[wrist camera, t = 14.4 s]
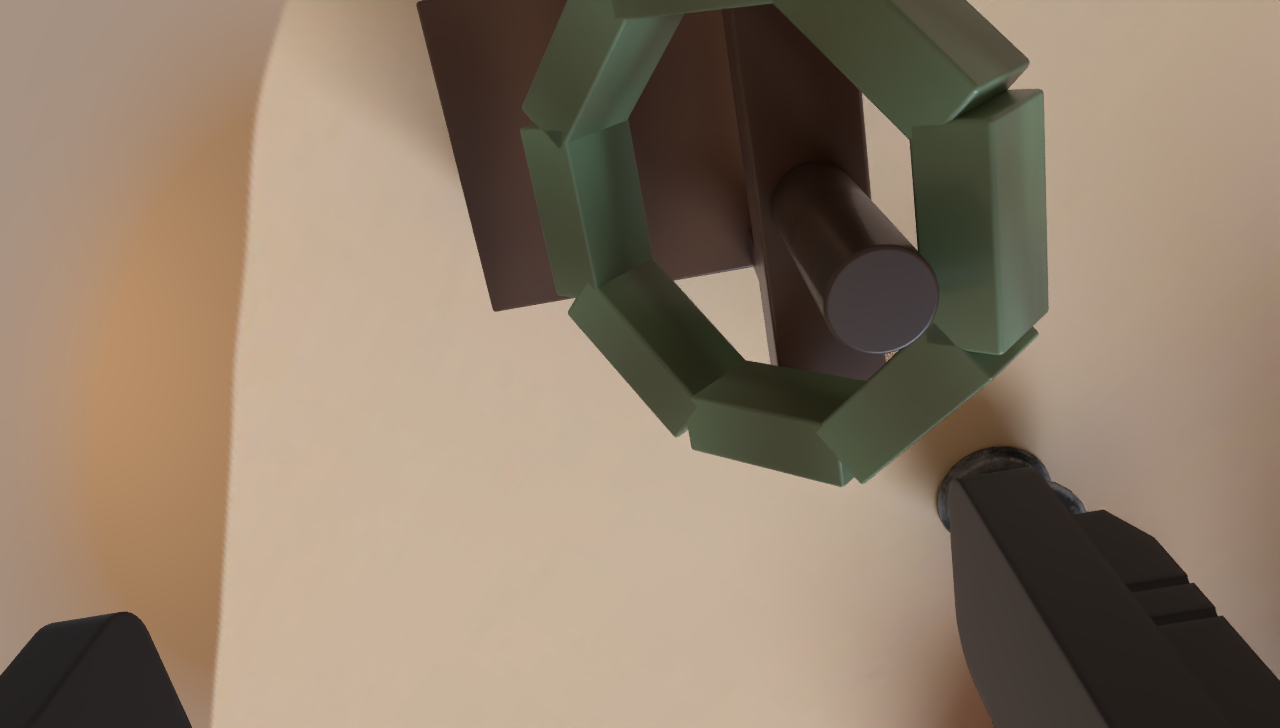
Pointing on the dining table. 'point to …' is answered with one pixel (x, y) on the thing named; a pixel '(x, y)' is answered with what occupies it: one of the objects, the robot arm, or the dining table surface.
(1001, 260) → the ring
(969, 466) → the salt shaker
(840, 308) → the chair
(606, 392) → the dining table surface
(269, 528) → the dining table surface
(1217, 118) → the dining table surface
